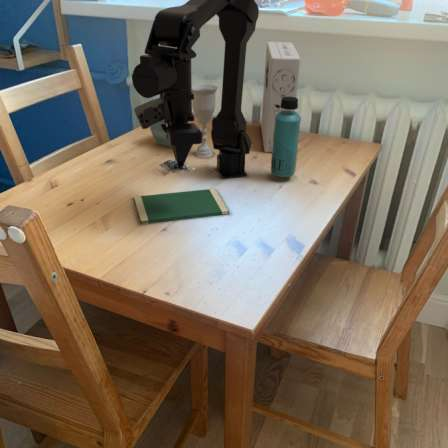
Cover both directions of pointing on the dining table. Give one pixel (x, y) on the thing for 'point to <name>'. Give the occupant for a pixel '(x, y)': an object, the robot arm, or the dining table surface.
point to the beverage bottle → (286, 139)
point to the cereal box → (278, 85)
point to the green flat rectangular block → (179, 206)
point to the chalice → (204, 112)
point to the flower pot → (160, 134)
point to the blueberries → (176, 167)
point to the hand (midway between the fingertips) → (179, 163)
